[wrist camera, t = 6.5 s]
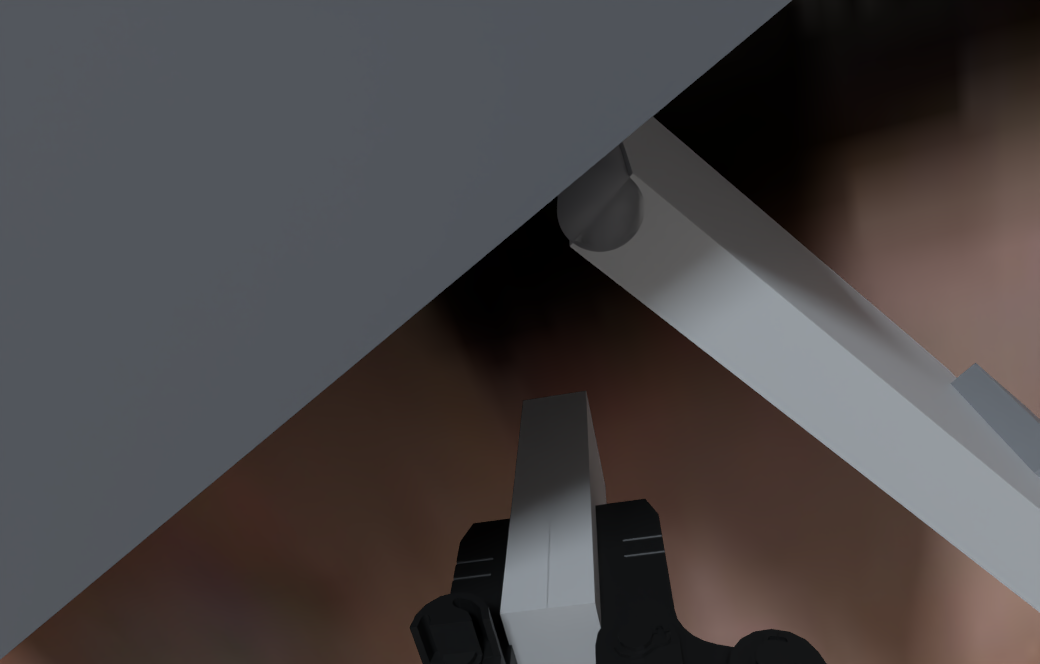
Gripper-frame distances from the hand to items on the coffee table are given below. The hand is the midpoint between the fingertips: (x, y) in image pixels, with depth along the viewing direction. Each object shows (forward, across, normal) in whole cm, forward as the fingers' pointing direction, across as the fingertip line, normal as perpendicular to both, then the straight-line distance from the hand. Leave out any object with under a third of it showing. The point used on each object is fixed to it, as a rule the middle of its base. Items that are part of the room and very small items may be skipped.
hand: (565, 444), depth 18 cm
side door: (+2, +6, +4) cm, 7 cm away
